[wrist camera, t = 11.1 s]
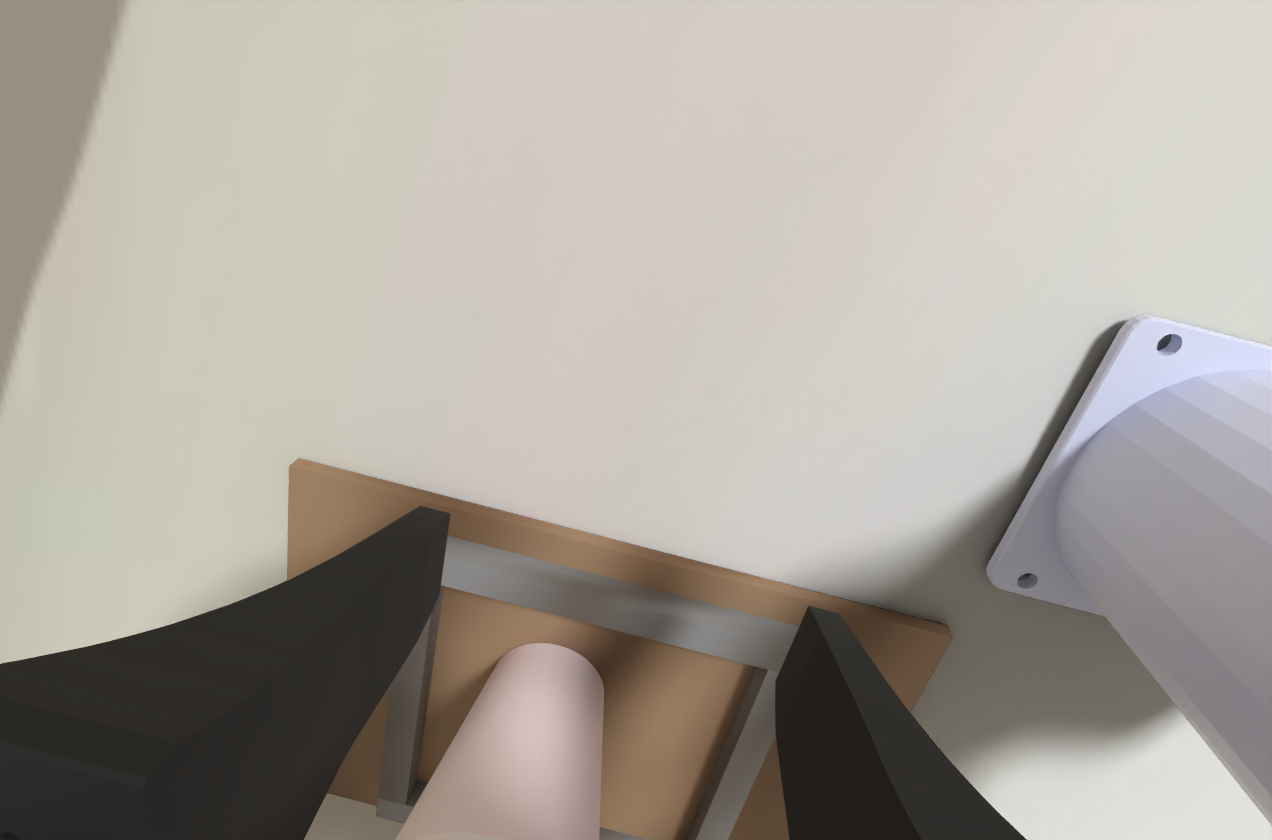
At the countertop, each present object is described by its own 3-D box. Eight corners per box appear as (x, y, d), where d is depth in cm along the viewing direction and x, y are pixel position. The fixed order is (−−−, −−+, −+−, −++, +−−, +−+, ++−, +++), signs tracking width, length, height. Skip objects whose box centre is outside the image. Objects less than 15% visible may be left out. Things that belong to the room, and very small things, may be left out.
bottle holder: (947, 625, 20) (964, 662, 19) (794, 899, 26) (799, 943, 24) (298, 458, 20) (268, 482, 19) (291, 770, 26) (268, 806, 24)
